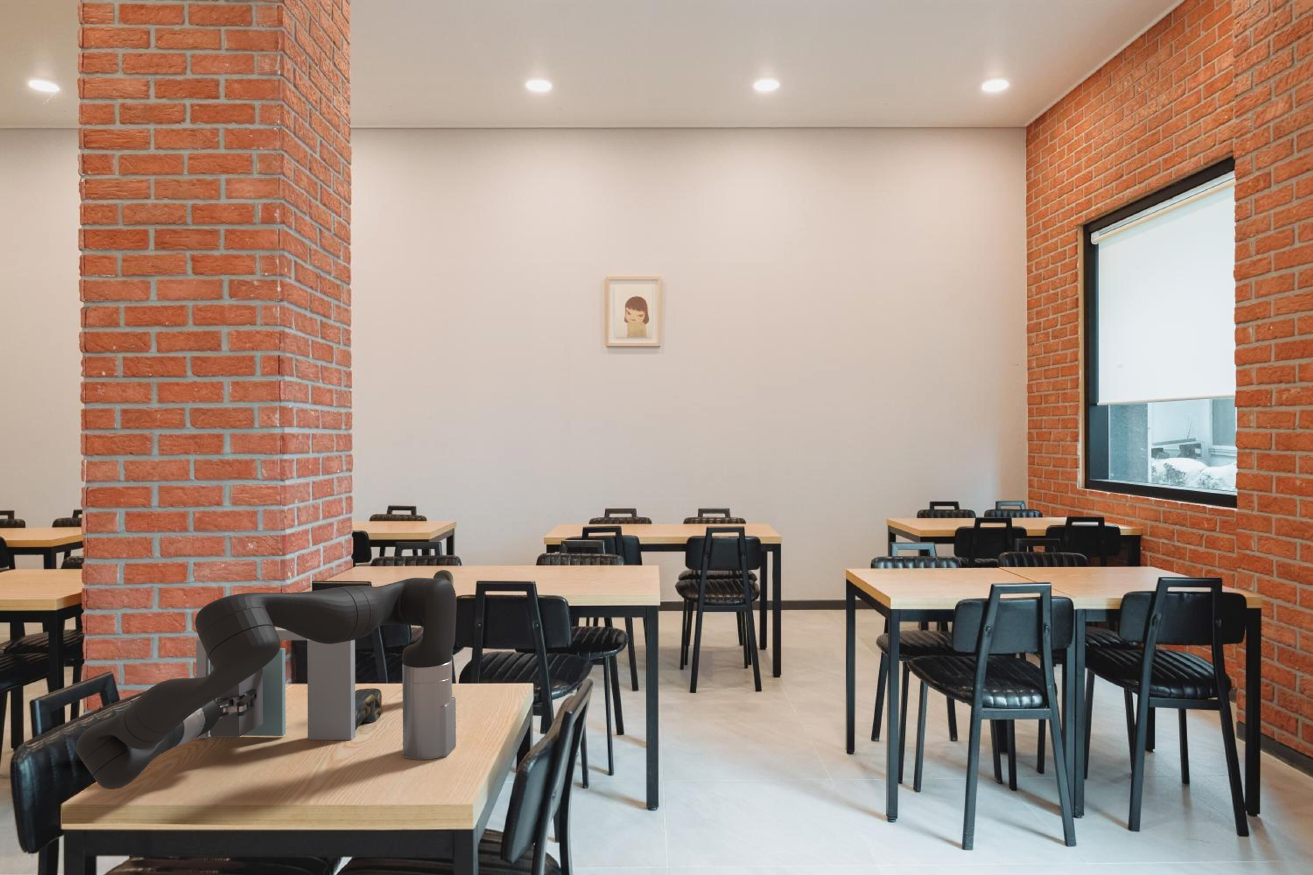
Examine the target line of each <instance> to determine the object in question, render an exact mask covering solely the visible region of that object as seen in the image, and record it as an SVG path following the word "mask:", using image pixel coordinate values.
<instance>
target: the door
mask: <svg viewBox="0 0 1313 875" xmlns="http://www.w3.org/2000/svg"><path fill="white" fill-rule="evenodd" d="M212 671H213V666H212V664H211V663H210V673H211V672H212ZM286 711H287V710H286V648H284V647H280V650H279V652H278V654H277V655H276V656H275V657H274V658H273V660H271V661H270V662H269V663H268V664H267V665H266V666H264V667H263V724H262V725H260V726H258V727H257V728H255V729H253V730H251V731H249V732H248V733H246V734H244V735H242V736H241V737H283V736H285V735H286V733H287V732H286V723H287V722H286V717H287V716H286V714H287V713H286ZM210 735H211V730H210Z"/></svg>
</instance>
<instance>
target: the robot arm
mask: <svg viewBox="0 0 1313 875" xmlns="http://www.w3.org/2000/svg"><path fill="white" fill-rule="evenodd" d="M457 602H458V601H457V594H456V590H455V587H454V584H453V585H452V584H451V583H450V582H449V581H448V580H445V579H434V578H433V577H432V578H431V577H427V578H426V577H410V578H406V579H402V580H398V581H395V582H392V583H387V584H384V585H379V586H373V585H347V586H341V587H340V586H339V587H331V588H326V589H320V590H319V589H318V590H309V591H300V592H299V591H297V592H246V593H245V592H244V593H237V594H231V595H227V596H224V597H220V598H218V599H215V600H213V601H211V602H210V603H207V604H206V605H205V606H203V607H202V608H201V609H200V610H199V611H198V612H197V613H196V616H195V619H194V626H195V630H196V634H197V635H198V639H200V640H201V643H202V645H203V647H204V650H205V652H206V654H207V656H208V658H209V660H210V663H211V664H212V666H213V671H212V672H211V673H210V674H209V675H208V676H206V677H201V678H196V677H182V678H172V679H171V678H170V679H167V680H164V681H161V682H159V683H157V684H155V685H153V686H151V687H150V688H148V690H146V691H145V692H144V693H142V694H141V695H140V696H139V697H138V698H137V699H136V700H135V701H134V702H133V703H132V704H130V705H129V706H128V707H127V708H126V709H125V710H123V711H122V712H120V713H118V714H116V715H115V716H112V717H110V718H109V717H108V718H107V719H105V720H102V721H99V722H98V723H96V724H94V725H92V726H90V727H88V728H87V729H86V730H85V731H84V732H82V733H81V734H80V736H79V737H78V739H77V741H76V744H75V745H76V746H75V747H76V748H75V751H76V754H77V755H78V757H79V759H80V761H82V762H83V765H84V766H85V768H87V770H88V771H89V772H90V774H91V775H92V777H93V779H94V780H95V782H97V784H98V785H99V786H100V787H101V788H103V789H105V790H118V789H122V788H124V787H126V786H128V785H129V784H131V783H132V782H133V781H135V780H136V779H137V777H139V776H140V775H141V774H142V773H143V772H144V771H145V770H146V769H147V767H148V766H149V765H150V763H152V761H154V760H155V759H156V758H157V757H159V756H160V755H162V754H164V753H166V752H168V751H170V750H172V749H174V748H177V747H180V746H182V745H186V744H187V743H189V742H191V741H193V740H195V739H196V738H197V737H199V736H201V735H203V734H205V733H207V732H208V731H210V730H211V729H212V728H213V727H214V725H215V724H216V722H217V720H218V719H221V718H223V716H226V715H230V714H233V713H236V712H237V716H243V715H245V714H246V713H247V712H249V711H250V710H251V709H253V708H254V700H256V699H257V691H256V689H250V690H248V691H246V692H244V693H242V694H238V695H236V694H229V695H225V696H221V695H222V694H224V693H226V692H227V691H229V690H230V689H232V688H233V687H235V686H236V685H238V684H239V683H241V682H242V681H244V680H245V679H247V678H248V677H250V676H251V675H253V674H254V673H256V672H257V671H259V670H260V669H262V668H263V667H264V666H266V665H267V664H268V663H269V662H270V661H271V660H273V658H274V657H275V656H276V655H277V654H278V652H279V650H280V648H282V647H281V646H282V644H281V640H280V639H279V636H278V633H277V631H276V629H275V628H282V629H285V630H288V631H290V632H292V633H295V634H297V635H299V636H302V637H304V638H307V639H309V640H312V641H315V642H318V643H323V644H336V643H341V642H346V641H351V640H355V641H356V640H358V639H361V638H365V637H367V636H369V635H370V634H372V633H373V632H374V631H375V630H376V629H377V628H378V627H381V626H387V625H388V626H389V625H392V626H393V625H404V626H410V627H411V626H412V627H423V629H422V638H421V640H420V641H417V642H416V643H412V644H409V645H407V646H405V647H404V648H403V650H402V655H401V656H402V665H401V666H402V755H403V756H404V758H407V759H411V760H418V761H419V760H431V759H437V758H445V757H447V756H448V755H450V753H451V752H452V751H453V750H454V748H456V745H457V730H456V729H457V722H456V720H457V717H456V716H457V713H456V712H457V708H456V706H457V705H456V704H457V703H456V697H455V696H453V649H454V646H455V642H456V627H457V626H456V624H457V607H458V606H457V605H458V604H457ZM219 696H221V697H219ZM239 698H240V700H237V699H239ZM227 699H229V701H228V700H227Z"/></svg>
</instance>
